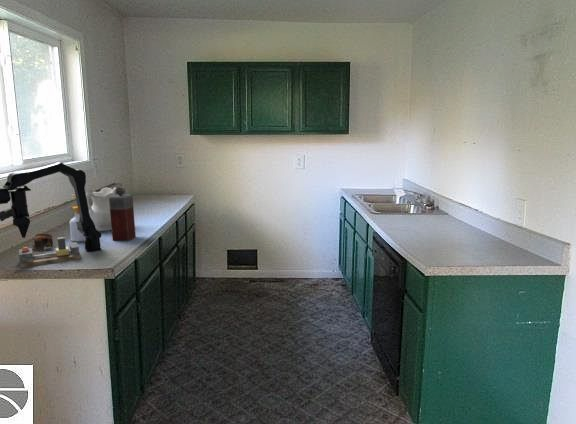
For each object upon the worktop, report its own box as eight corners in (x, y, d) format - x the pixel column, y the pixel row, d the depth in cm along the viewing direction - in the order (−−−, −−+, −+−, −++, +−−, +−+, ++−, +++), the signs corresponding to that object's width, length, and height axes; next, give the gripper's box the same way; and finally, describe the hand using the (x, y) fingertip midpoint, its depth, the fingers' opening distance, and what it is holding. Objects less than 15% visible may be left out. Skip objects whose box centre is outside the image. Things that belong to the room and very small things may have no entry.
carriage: (68, 252, 209) (66, 236, 208) (69, 254, 205) (67, 238, 203) (56, 253, 207) (54, 237, 205) (57, 256, 202) (55, 239, 201)
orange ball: (28, 252, 200) (28, 246, 199) (28, 253, 198) (28, 247, 197) (22, 252, 198) (21, 247, 198) (22, 254, 196) (21, 248, 196)
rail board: (78, 252, 214) (77, 241, 213) (81, 258, 205) (80, 247, 204) (20, 261, 202) (18, 249, 201) (20, 267, 193) (19, 255, 192)
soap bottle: (69, 239, 240) (64, 194, 235) (87, 236, 246) (82, 192, 241) (73, 242, 233) (69, 196, 229) (92, 239, 239) (87, 194, 234)
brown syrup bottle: (137, 235, 247) (133, 185, 241) (128, 240, 236) (124, 188, 230) (122, 235, 248) (117, 185, 242) (112, 240, 237) (107, 188, 231)
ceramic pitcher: (107, 236, 251) (106, 192, 246) (76, 232, 255) (75, 188, 250) (128, 227, 272) (128, 187, 267) (99, 224, 275) (98, 184, 270)
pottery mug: (27, 250, 222) (29, 234, 224) (44, 254, 230) (47, 238, 232) (42, 246, 216) (45, 230, 219) (60, 250, 224) (62, 235, 227)
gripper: (-3, 200, 197) (2, 235, 200) (-4, 207, 182) (1, 244, 185) (27, 198, 203) (31, 231, 206) (27, 204, 187) (32, 240, 190)
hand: (23, 237), depth 197 cm, fingers open, 3 cm apart
